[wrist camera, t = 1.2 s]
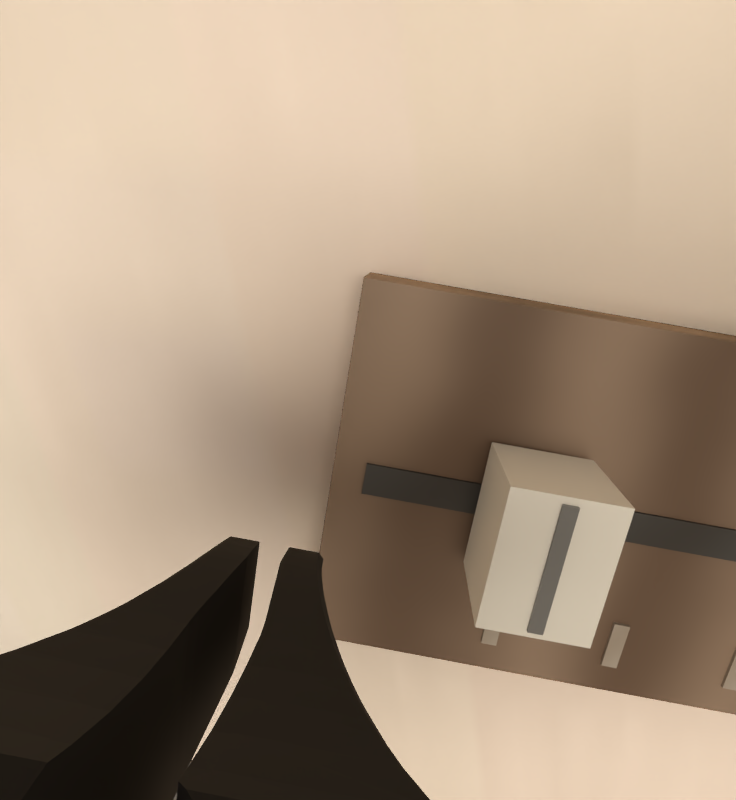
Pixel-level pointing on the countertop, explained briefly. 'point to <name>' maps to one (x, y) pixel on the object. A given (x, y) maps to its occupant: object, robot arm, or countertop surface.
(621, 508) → the fader tab
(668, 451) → the fader console
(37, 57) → the countertop surface
